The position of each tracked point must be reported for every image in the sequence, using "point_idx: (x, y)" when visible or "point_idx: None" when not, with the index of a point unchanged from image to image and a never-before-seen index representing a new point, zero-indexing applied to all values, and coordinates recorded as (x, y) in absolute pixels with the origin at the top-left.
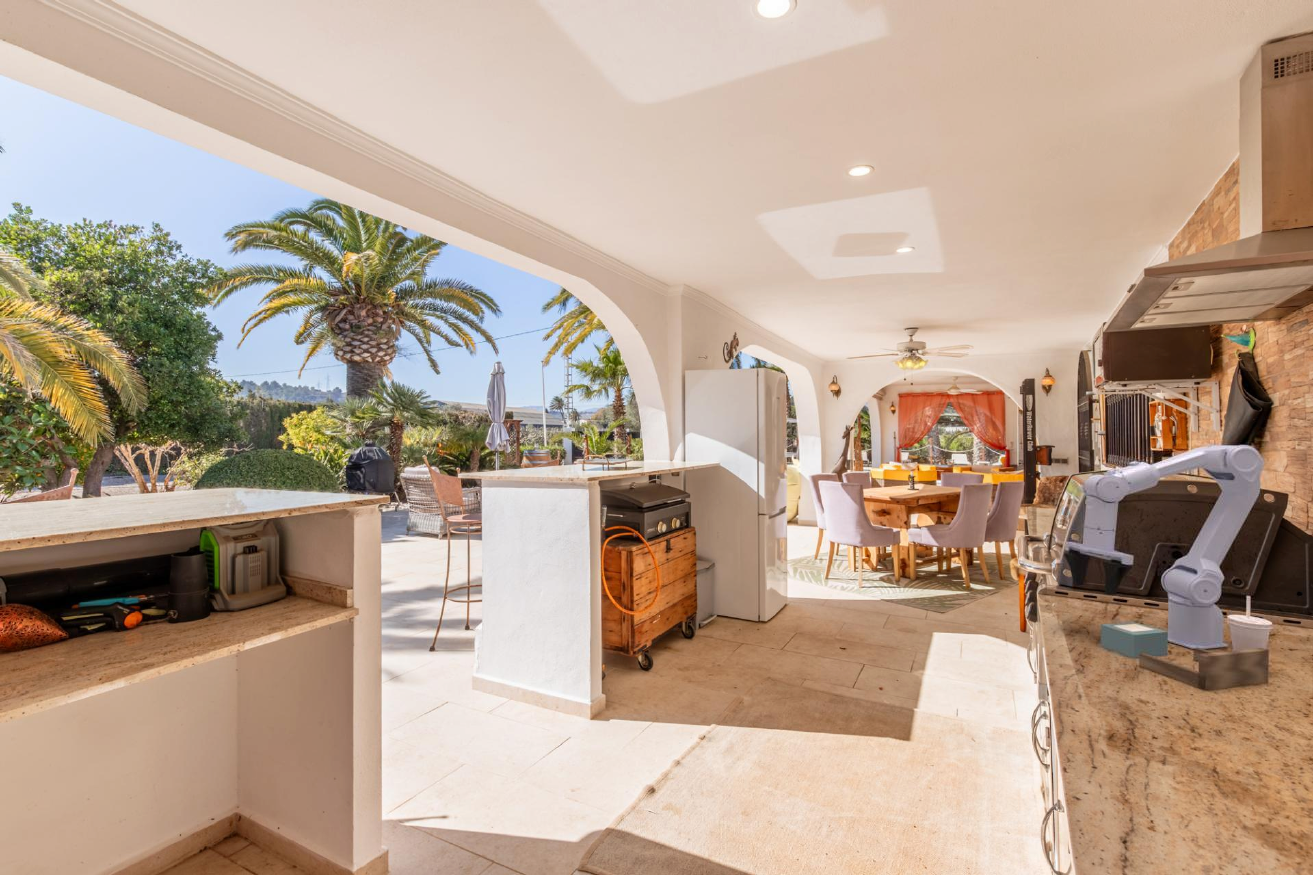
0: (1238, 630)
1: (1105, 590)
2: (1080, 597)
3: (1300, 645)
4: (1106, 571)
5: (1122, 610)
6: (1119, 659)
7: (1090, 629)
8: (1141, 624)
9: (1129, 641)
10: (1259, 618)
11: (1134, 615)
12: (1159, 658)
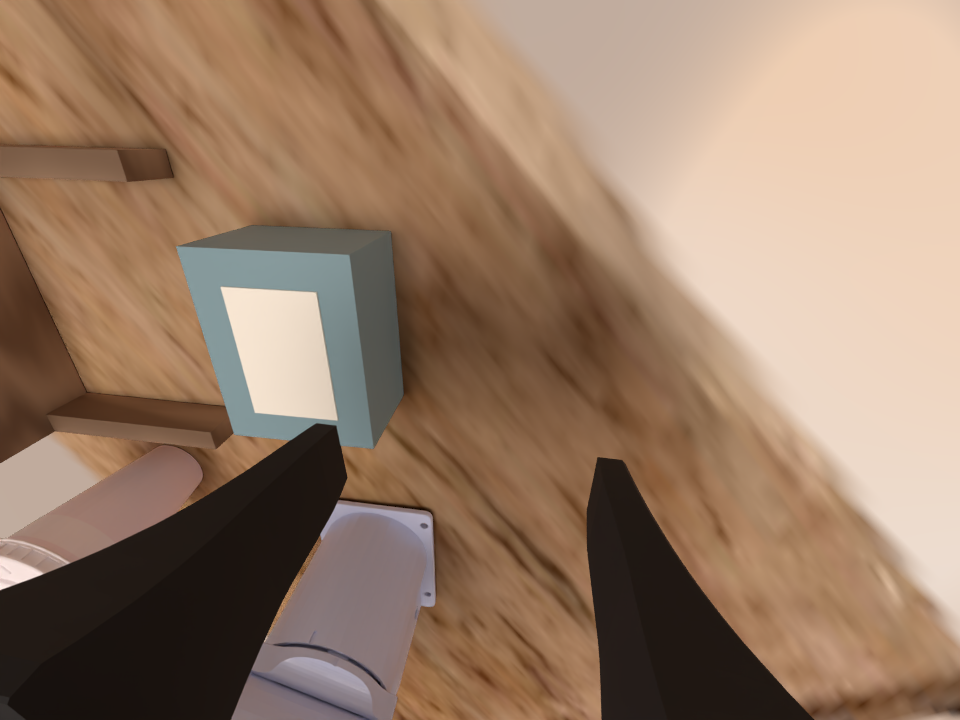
0: (42, 527)
1: (319, 438)
2: (862, 715)
3: None
4: (153, 565)
5: None
6: (243, 150)
7: (584, 413)
8: None
9: (225, 238)
10: None
11: None
12: (63, 176)
